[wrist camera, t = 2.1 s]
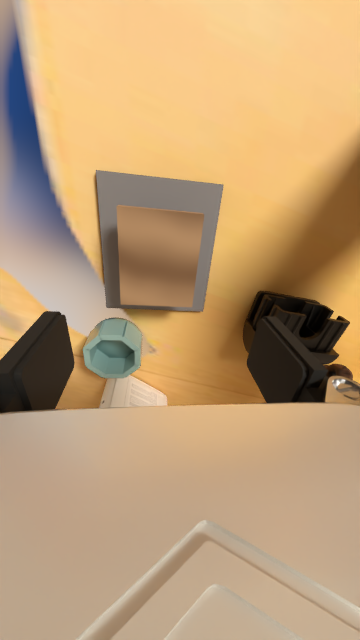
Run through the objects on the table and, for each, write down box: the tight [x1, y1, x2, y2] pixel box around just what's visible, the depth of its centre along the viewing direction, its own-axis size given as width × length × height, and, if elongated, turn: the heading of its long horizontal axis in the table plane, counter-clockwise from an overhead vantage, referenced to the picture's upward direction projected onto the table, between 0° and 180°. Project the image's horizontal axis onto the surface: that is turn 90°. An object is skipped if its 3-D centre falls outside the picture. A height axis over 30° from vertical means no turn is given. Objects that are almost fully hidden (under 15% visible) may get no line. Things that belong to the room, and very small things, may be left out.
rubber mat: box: [96, 170, 223, 311], centre depth 24 cm, size 14×12×3 cm
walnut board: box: [117, 205, 204, 307], centre depth 22 cm, size 9×7×1 cm
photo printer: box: [99, 375, 167, 408], centre depth 30 cm, size 10×4×12 cm, turn 49°
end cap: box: [243, 291, 350, 364], centre depth 28 cm, size 10×7×7 cm
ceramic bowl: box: [83, 318, 142, 378], centre depth 29 cm, size 7×7×4 cm
